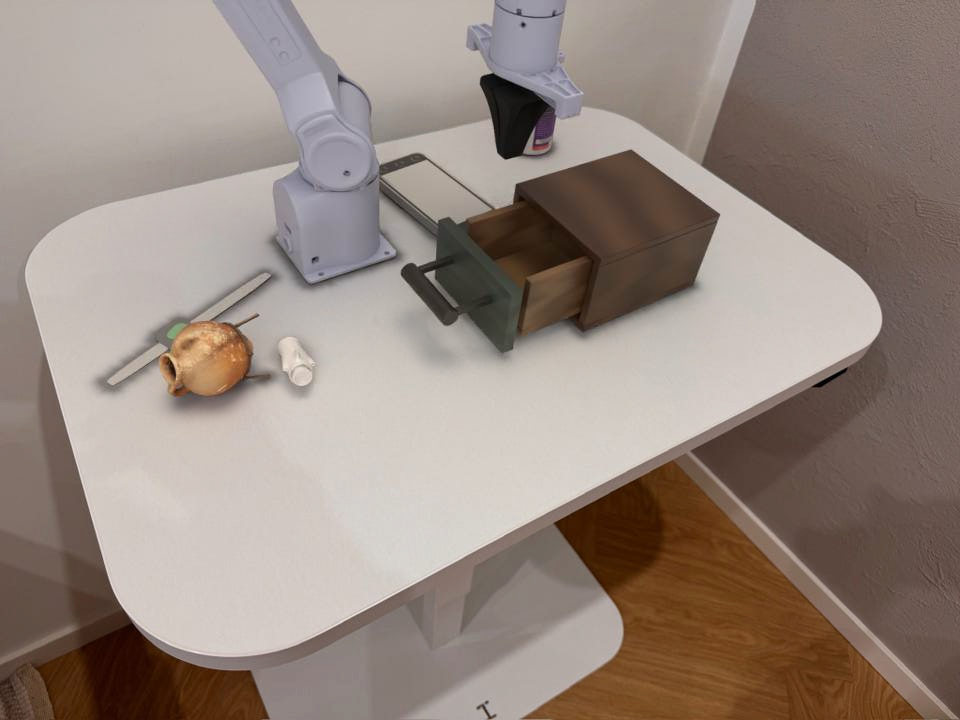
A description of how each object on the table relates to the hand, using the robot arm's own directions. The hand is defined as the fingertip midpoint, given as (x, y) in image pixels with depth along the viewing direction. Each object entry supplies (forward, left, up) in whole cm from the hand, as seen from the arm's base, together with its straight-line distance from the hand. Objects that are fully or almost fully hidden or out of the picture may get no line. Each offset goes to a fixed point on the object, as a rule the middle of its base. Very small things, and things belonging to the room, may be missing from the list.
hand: (509, 154), depth 70 cm
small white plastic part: (-25, -7, -11) cm, 28 cm away
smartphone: (-2, +9, -10) cm, 14 cm away
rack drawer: (-5, -8, -10) cm, 14 cm away
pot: (-32, -2, -10) cm, 34 cm away
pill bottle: (+15, +15, -11) cm, 23 cm away
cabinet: (+7, -8, -10) cm, 15 cm away
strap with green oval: (-31, +4, -10) cm, 33 cm away
